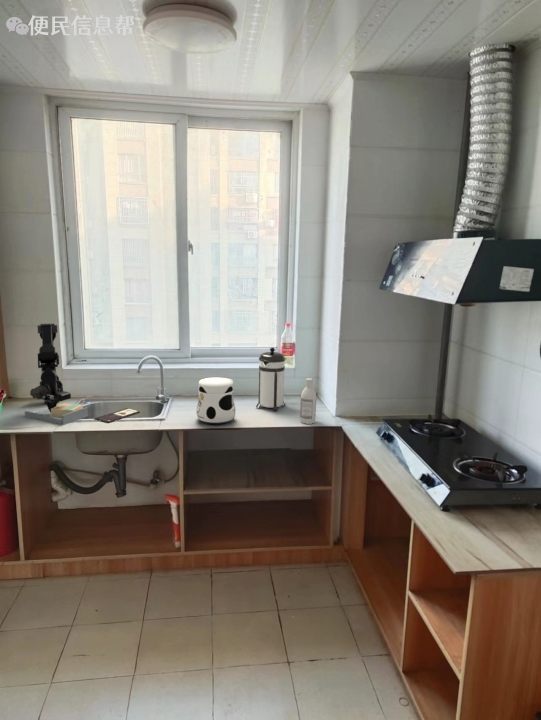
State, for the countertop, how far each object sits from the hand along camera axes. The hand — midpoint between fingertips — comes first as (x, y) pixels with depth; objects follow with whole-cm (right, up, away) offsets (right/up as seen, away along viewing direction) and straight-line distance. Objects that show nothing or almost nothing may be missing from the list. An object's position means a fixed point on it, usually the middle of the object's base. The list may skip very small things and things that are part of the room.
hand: (51, 412), depth 206 cm
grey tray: (+3, -3, -2) cm, 4 cm away
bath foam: (+114, -5, +3) cm, 114 cm away
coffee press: (+98, 0, +24) cm, 101 cm away
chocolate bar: (+28, -3, +5) cm, 28 cm away
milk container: (+73, -4, +2) cm, 73 cm away
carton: (+8, -2, -2) cm, 9 cm away
